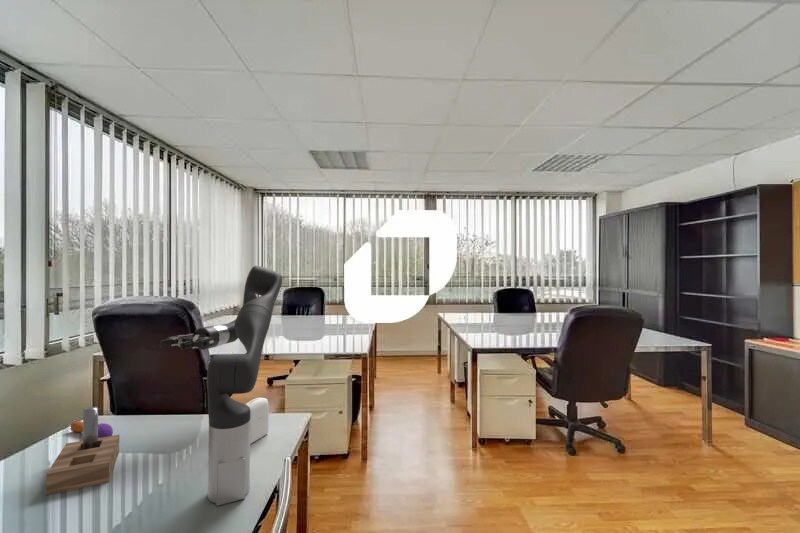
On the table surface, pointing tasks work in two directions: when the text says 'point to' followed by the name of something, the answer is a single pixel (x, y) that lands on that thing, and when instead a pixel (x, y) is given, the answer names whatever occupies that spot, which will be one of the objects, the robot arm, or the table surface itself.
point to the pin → (90, 428)
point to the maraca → (103, 429)
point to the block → (82, 465)
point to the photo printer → (258, 418)
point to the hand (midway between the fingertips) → (170, 345)
